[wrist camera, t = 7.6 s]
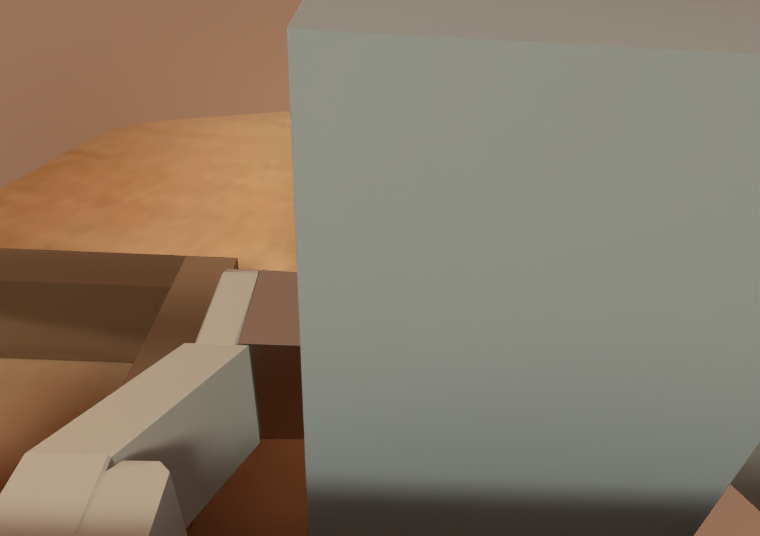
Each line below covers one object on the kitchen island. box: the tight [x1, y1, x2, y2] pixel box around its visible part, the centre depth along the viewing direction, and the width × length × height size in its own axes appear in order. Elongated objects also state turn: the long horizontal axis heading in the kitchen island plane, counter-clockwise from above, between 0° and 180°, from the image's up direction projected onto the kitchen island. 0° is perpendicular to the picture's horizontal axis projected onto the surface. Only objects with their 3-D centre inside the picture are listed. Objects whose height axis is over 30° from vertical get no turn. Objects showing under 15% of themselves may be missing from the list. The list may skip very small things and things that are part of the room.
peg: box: [287, 0, 760, 536], centre depth 9 cm, size 4×4×12 cm
